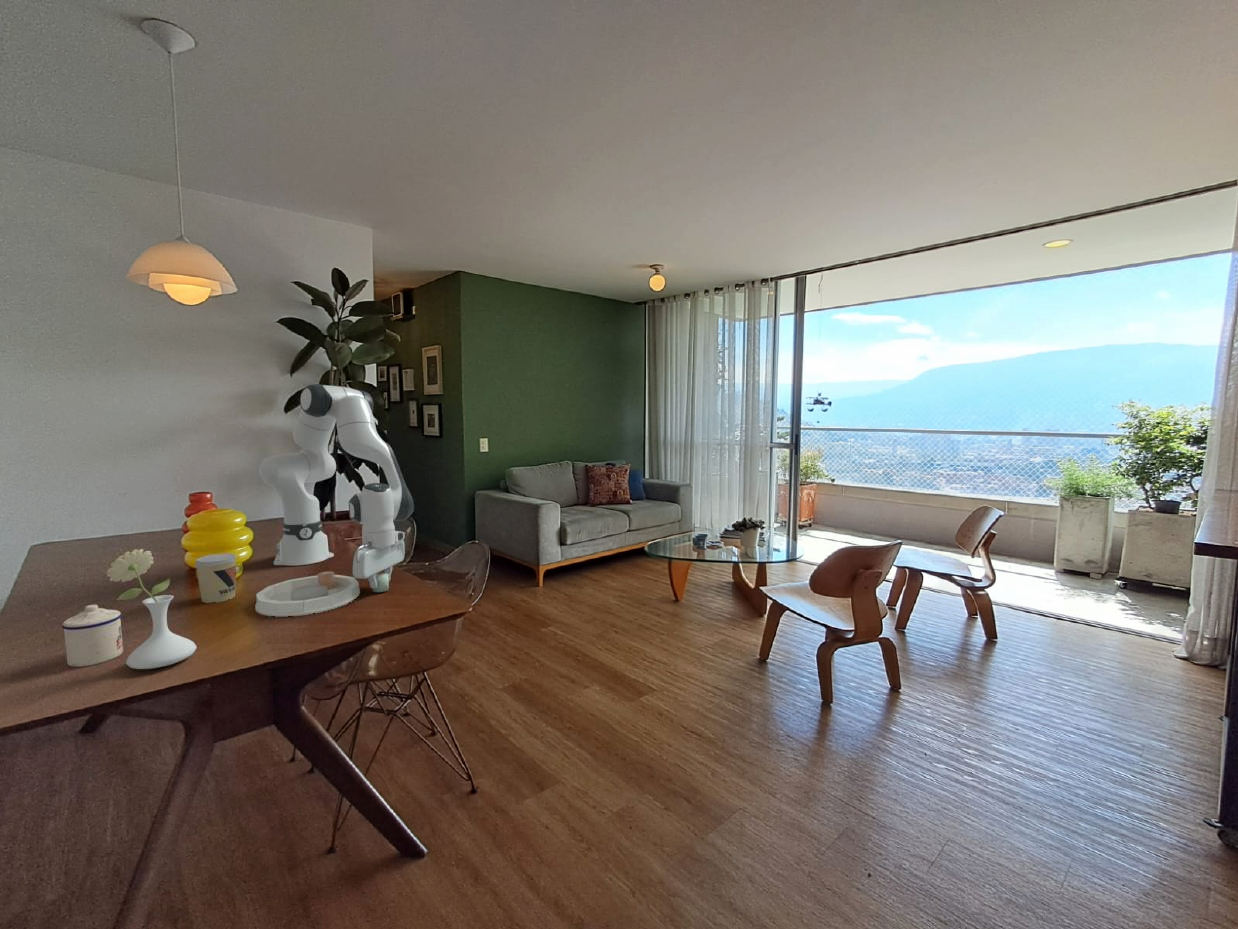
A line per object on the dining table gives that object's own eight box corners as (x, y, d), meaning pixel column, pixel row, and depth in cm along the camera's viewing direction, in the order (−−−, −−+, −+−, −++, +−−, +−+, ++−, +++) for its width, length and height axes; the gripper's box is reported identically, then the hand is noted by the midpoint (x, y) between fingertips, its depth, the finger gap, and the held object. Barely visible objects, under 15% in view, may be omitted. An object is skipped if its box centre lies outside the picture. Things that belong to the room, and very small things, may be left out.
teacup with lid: (131, 654, 117) (127, 603, 116) (74, 672, 109) (69, 616, 108) (110, 643, 123) (106, 593, 122) (54, 658, 115) (49, 606, 114)
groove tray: (251, 597, 153) (250, 585, 153) (348, 580, 169) (347, 569, 169) (260, 624, 133) (260, 611, 133) (370, 602, 150) (369, 590, 149)
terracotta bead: (316, 587, 159) (316, 573, 159) (333, 584, 162) (332, 570, 161) (319, 591, 156) (319, 576, 155) (336, 588, 158) (335, 574, 158)
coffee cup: (222, 604, 148) (219, 562, 147) (189, 604, 148) (186, 561, 147) (246, 593, 157) (244, 553, 156) (215, 593, 158) (212, 553, 156)
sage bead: (370, 589, 159) (370, 575, 159) (386, 586, 162) (385, 572, 162) (375, 593, 156) (374, 578, 155) (390, 590, 159) (390, 575, 158)
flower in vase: (189, 645, 121) (181, 537, 119) (203, 660, 114) (195, 545, 112) (111, 666, 111) (100, 549, 109) (121, 684, 104) (110, 558, 102)
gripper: (366, 548, 147) (368, 596, 148) (407, 531, 167) (409, 574, 168) (345, 546, 148) (347, 595, 149) (389, 530, 168) (390, 573, 169)
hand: (380, 584), depth 159 cm, fingers closed on sage bead, 4 cm apart
